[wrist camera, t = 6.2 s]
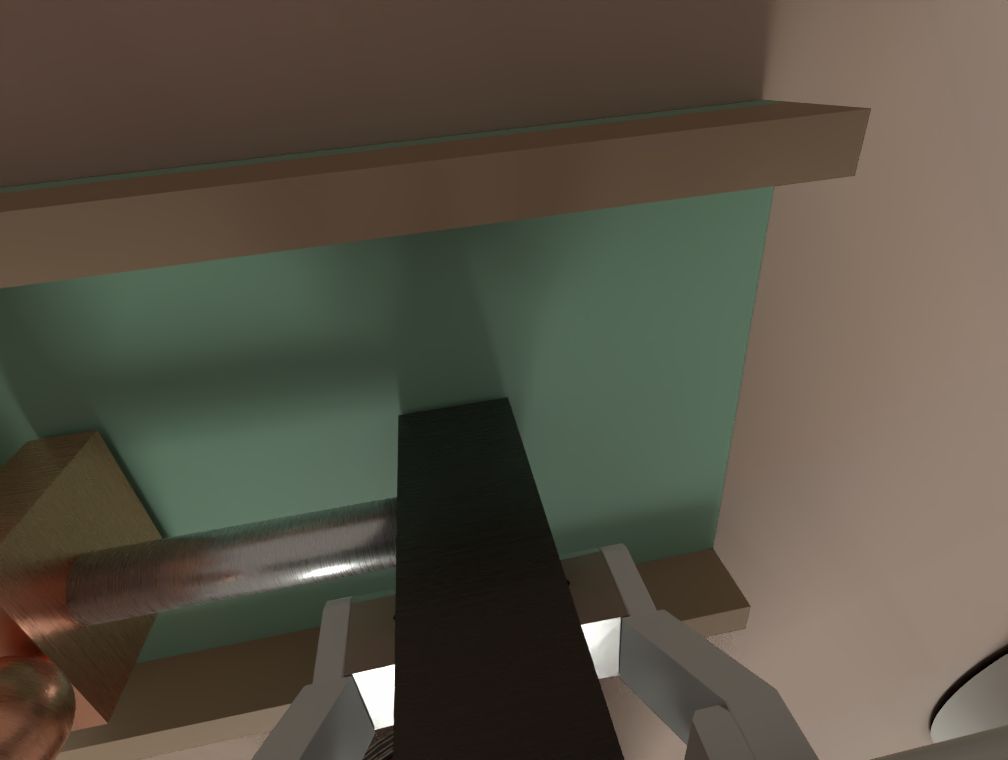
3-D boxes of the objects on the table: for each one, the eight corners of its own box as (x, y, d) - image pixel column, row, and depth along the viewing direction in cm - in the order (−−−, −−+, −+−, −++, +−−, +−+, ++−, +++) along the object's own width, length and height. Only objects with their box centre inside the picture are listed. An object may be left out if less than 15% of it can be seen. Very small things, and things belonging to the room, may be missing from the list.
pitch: (762, 100, 13) (1165, 131, 6) (696, 549, 21) (836, 777, 14) (-528, 248, 10) (-2327, 591, 4) (-31, 694, 19) (-282, 1055, 12)
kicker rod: (504, 365, 14) (628, 724, 6) (518, 504, 17) (618, 877, 9) (27, 440, 13) (-531, 989, 5) (122, 577, 15) (-157, 1078, 8)
